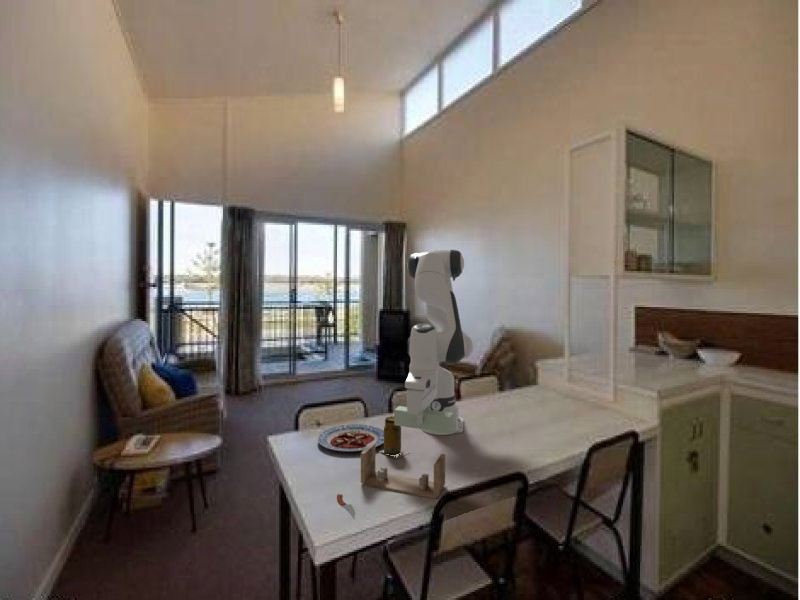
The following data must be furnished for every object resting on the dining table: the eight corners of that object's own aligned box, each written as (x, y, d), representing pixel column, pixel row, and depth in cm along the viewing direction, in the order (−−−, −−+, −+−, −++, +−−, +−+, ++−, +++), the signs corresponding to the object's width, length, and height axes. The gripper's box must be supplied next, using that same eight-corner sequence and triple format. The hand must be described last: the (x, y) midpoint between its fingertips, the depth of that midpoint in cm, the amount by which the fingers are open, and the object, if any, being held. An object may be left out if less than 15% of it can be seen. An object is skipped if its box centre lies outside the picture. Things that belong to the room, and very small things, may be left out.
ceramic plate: (377, 459, 146) (377, 451, 146) (306, 453, 151) (306, 444, 151) (394, 432, 171) (394, 424, 171) (332, 427, 176) (332, 420, 176)
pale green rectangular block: (399, 421, 140) (399, 406, 140) (452, 428, 134) (453, 412, 134) (394, 425, 137) (394, 409, 136) (449, 433, 130) (449, 417, 130)
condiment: (392, 446, 157) (392, 414, 156) (409, 453, 151) (410, 419, 150) (378, 452, 151) (378, 418, 151) (395, 459, 145) (395, 424, 145)
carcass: (371, 473, 135) (371, 443, 135) (445, 486, 127) (445, 454, 127) (360, 484, 128) (360, 452, 127) (437, 499, 120) (438, 465, 119)
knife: (363, 515, 111) (353, 518, 110) (363, 517, 111) (353, 520, 110) (342, 492, 122) (333, 495, 121) (342, 494, 123) (332, 497, 121)
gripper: (423, 368, 145) (423, 408, 146) (402, 384, 126) (402, 430, 127) (441, 370, 143) (441, 411, 144) (423, 386, 124) (423, 433, 125)
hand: (423, 420), depth 135 cm, fingers closed on pale green rectangular block, 4 cm apart
